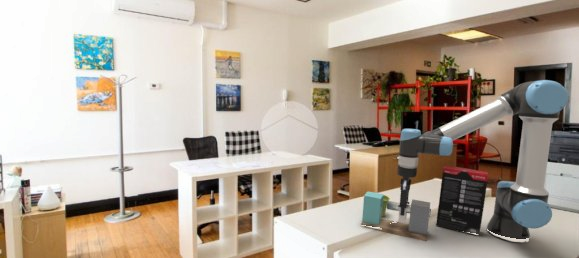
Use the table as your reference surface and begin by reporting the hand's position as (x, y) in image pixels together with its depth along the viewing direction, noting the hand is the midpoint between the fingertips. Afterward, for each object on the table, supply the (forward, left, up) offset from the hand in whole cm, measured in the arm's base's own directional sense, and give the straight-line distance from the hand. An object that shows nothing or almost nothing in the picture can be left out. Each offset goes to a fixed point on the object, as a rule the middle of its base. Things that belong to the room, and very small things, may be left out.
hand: (402, 220), depth 134 cm
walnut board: (+3, 0, -5) cm, 5 cm away
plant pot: (+12, -13, -5) cm, 18 cm away
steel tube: (-2, 0, +4) cm, 4 cm away
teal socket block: (+13, 0, -3) cm, 13 cm away
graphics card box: (-22, -15, -5) cm, 27 cm away
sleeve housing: (-6, 0, -3) cm, 7 cm away
